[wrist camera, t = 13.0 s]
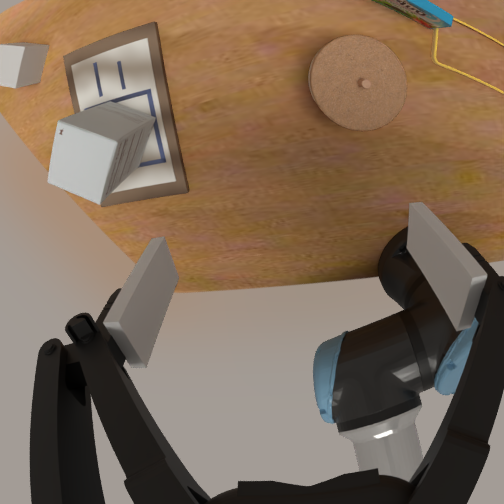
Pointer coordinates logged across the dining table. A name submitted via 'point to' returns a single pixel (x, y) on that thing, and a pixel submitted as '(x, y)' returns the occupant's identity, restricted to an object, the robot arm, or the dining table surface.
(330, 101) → the lidded jar
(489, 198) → the dining table surface
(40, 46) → the gray cube
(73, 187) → the supplement box
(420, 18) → the yogurt
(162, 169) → the brown framed board
